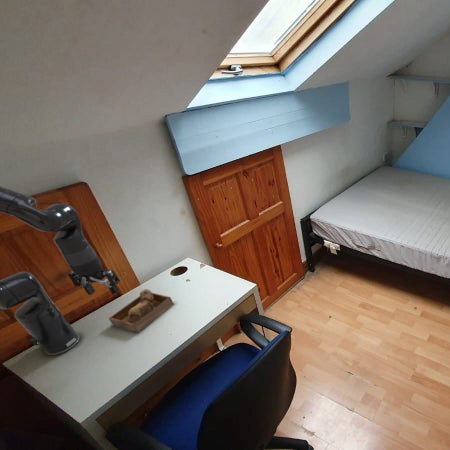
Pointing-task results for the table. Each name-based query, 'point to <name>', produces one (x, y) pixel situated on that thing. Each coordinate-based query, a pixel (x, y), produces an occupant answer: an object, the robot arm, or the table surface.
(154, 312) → the brown wooden shallow box
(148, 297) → the lion figurine
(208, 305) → the table surface
